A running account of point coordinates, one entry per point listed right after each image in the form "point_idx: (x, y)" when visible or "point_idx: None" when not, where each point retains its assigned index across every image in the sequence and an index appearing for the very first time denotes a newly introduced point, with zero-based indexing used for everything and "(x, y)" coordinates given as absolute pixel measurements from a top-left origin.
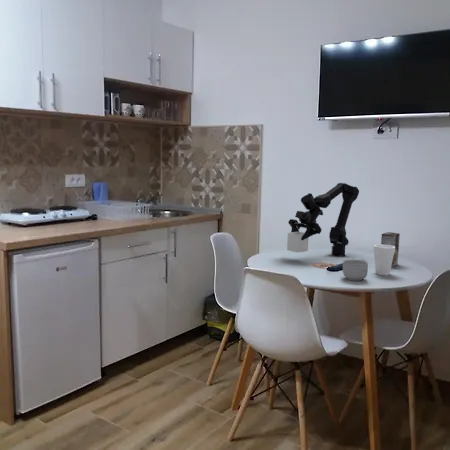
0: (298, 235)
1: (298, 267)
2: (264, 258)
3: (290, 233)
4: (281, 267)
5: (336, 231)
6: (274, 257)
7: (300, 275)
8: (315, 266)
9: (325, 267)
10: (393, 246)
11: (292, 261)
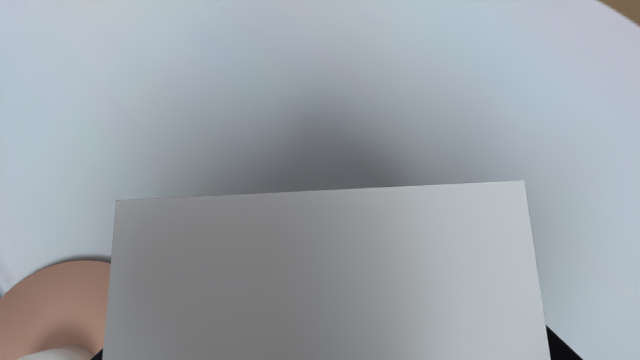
0: (127, 203)
1: (191, 164)
2: (623, 141)
3: (407, 186)
4: (263, 50)
5: None
6: (628, 263)
7: (37, 17)
8: (98, 280)
9: (25, 328)
10: None
11: None
